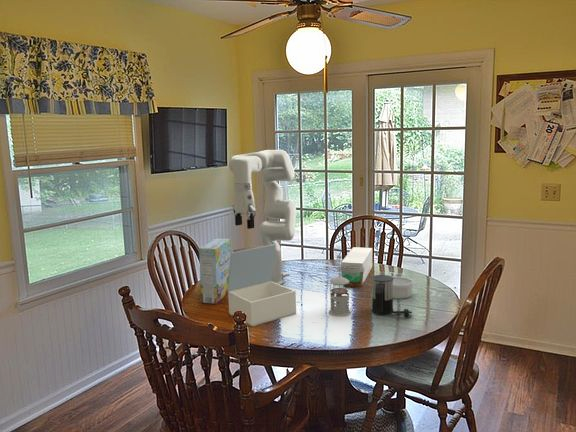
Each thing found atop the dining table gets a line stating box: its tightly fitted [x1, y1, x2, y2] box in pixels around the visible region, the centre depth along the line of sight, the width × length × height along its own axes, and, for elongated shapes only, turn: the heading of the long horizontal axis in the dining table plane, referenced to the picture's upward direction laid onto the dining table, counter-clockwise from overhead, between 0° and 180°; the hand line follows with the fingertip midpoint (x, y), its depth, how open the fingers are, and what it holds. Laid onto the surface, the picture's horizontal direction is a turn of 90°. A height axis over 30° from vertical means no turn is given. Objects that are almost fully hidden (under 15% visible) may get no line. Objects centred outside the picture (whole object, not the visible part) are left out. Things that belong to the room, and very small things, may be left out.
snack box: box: [198, 238, 232, 305], centre depth 238 cm, size 22×9×26 cm, turn 168°
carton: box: [227, 281, 297, 328], centre depth 215 cm, size 22×18×10 cm
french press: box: [327, 254, 352, 318], centre depth 214 cm, size 10×12×25 cm
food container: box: [340, 264, 365, 289], centre depth 247 cm, size 12×6×10 cm, turn 68°
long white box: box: [340, 246, 373, 285], centre depth 268 cm, size 32×11×11 cm, turn 162°
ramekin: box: [392, 276, 414, 300], centre depth 234 cm, size 13×13×7 cm
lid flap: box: [227, 244, 276, 291], centre depth 220 cm, size 22×18×5 cm
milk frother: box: [371, 274, 413, 317], centre depth 211 cm, size 14×16×15 cm
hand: (244, 226), depth 219 cm, fingers open, 9 cm apart
